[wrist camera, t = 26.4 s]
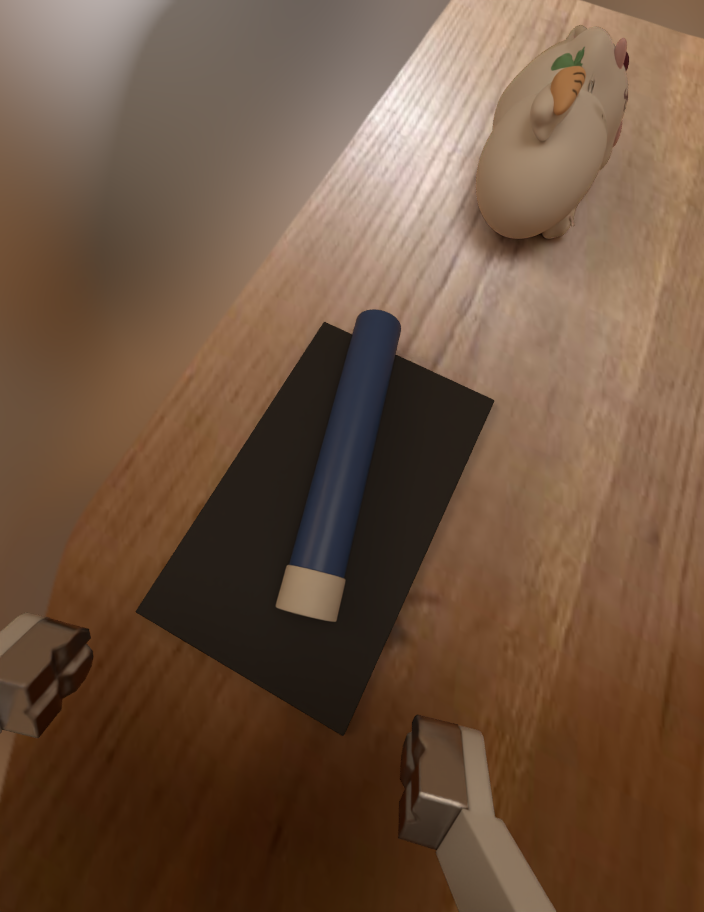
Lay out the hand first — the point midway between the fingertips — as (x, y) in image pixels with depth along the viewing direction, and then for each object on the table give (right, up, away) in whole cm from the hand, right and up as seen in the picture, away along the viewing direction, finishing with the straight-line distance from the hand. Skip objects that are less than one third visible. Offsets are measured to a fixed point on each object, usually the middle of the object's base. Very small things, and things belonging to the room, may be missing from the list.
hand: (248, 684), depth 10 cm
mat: (+1, +3, +14) cm, 14 cm away
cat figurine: (+16, +26, +22) cm, 38 cm away
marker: (+4, +14, +15) cm, 21 cm away
